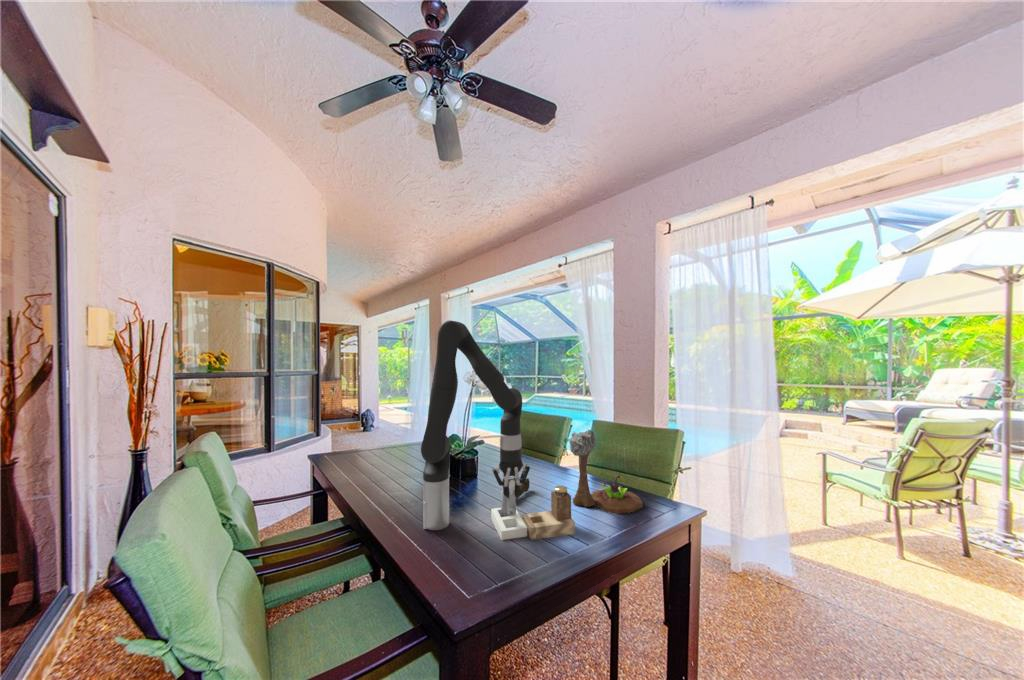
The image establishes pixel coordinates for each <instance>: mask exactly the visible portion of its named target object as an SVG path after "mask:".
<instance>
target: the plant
mask: <svg viewBox="0 0 1024 680" xmlns="http://www.w3.org/2000/svg"><path fill="white" fill-rule="evenodd" d="M622 479H623V478H622V476H621V475H616V477H615V478H614V482H613V483H612V482H610V481H606V482H604V483H602V484H601V485H602V488H603V489H598V490H595V491H592V493H590V494H591V496H592V498H593V499H594V500H595V502H596V503H595V505H594V506H596V507H598V508H599V509H600V510H602V511H603V512H607V513H609V512H610V513H609V514H615V513H616V515H621V514H631V513H630V512H632V513H634V512H636V511H638V509H639V510H641V509H642V507H643V508H644V504H643V501H642V500H641V498H640V497H639V496H638V495H637V494H635V493H633V492H632V491H628V487H623V486H622V484H621V485H620V484H617V482H618V480H622ZM606 484H609V485H607V487H606ZM640 508H641V509H640ZM635 510H636V511H635ZM633 511H634V512H633ZM626 512H627V513H626ZM620 513H621V514H620Z"/></svg>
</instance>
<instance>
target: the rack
mask: <svg viewBox="0 0 1024 680" xmlns="http://www.w3.org/2000/svg"><path fill="white" fill-rule="evenodd" d="M500 493H501V494H500V497H501V498H500V500H501V501H500V504H501V507H495V508H491V511H490V512H491V514H490V515H491V516H490V517H491V521H492V523H493V525H494V527H495V529H496V531H497V533H498V535H499V537H500V540H502V541H504V540H511V539H520V538H525V537H528V535H527V527H526V525H525V523H524V522H523V520H522V517H521V515H520V513H519V512H518V510H517V509H516V514H515V515H508V513H507V497H506V496H504V494H503V488H502V489H501V490H500Z"/></svg>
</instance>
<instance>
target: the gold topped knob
mask: <svg viewBox="0 0 1024 680" xmlns="http://www.w3.org/2000/svg"><path fill="white" fill-rule="evenodd" d="M554 491H555V492H557V495H558V496H565V493H566V492H568V487H567V486H565V485H556V486H554Z"/></svg>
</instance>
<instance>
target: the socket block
mask: <svg viewBox="0 0 1024 680" xmlns="http://www.w3.org/2000/svg"><path fill="white" fill-rule="evenodd" d="M550 495H551V496H550V499H551V501H550V502H551V503H550V504H551V505H550V507H551V508H550V510H546V511H545V510H543V511H538V512H530V513H524V514H522V517H521V518H522V520H523V522H524V523H525V525H526V527H527V537H528V538H529V539H530V540H531V541H533V540H539V539H546V538H553V537H559V536H569V535H575V534H576V526H575V525H576V524H575V523H576V522H575V520H574V519H573V518H572V495H570V493H569V492H568V491H567V492H566V493H565V496H558V495H557V492H555V490H553V491H550Z"/></svg>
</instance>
